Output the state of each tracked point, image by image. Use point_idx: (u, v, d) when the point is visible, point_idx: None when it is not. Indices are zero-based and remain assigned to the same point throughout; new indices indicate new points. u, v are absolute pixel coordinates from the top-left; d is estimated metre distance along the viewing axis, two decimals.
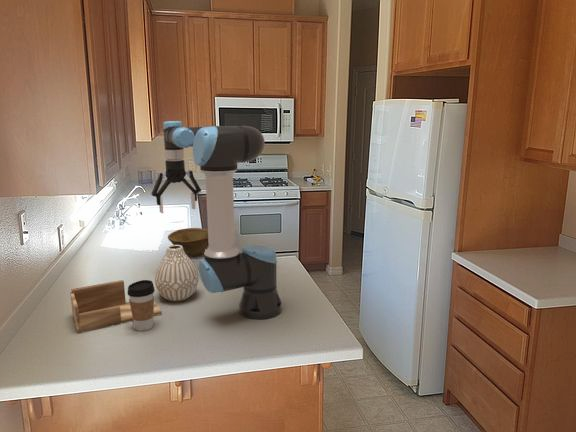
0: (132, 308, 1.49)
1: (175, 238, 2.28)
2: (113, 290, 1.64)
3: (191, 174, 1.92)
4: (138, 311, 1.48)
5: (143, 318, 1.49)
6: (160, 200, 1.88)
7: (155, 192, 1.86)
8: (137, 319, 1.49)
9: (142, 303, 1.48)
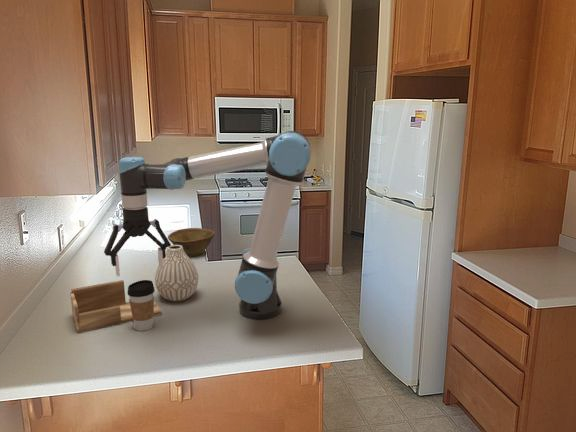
0: (132, 308, 1.49)
1: (175, 238, 2.28)
2: (113, 290, 1.64)
3: (157, 225, 1.48)
4: (138, 311, 1.48)
5: (143, 318, 1.49)
6: (115, 260, 1.44)
7: (108, 250, 1.42)
8: (137, 319, 1.49)
9: (142, 303, 1.48)
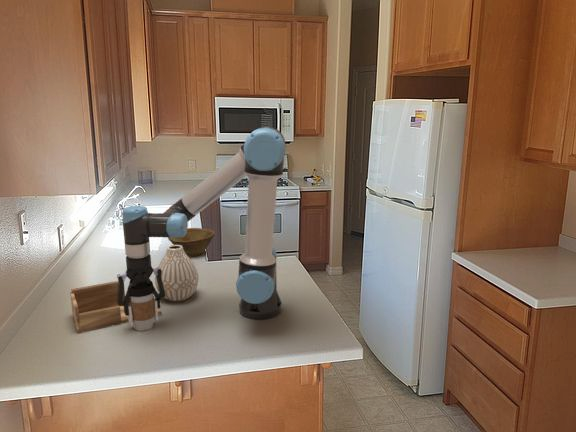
0: (132, 308, 1.49)
1: (175, 238, 2.28)
2: (113, 290, 1.64)
3: (159, 274, 1.51)
4: (138, 311, 1.48)
5: (143, 318, 1.49)
6: (128, 310, 1.49)
7: (121, 301, 1.46)
8: (137, 319, 1.49)
9: (142, 303, 1.48)
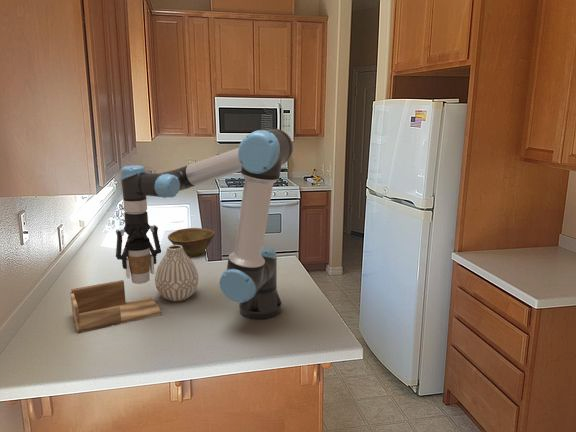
0: (129, 262, 1.59)
1: (175, 238, 2.28)
2: (113, 290, 1.64)
3: (155, 231, 1.61)
4: (135, 264, 1.58)
5: (140, 272, 1.59)
6: (126, 263, 1.58)
7: (119, 254, 1.56)
8: (134, 272, 1.59)
9: (139, 257, 1.57)
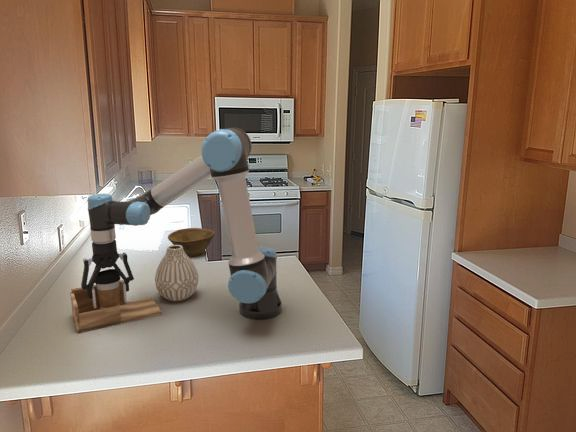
0: (98, 295, 1.55)
1: (175, 238, 2.28)
2: None
3: (125, 258, 1.57)
4: (103, 298, 1.55)
5: (109, 305, 1.56)
6: (92, 293, 1.54)
7: (84, 284, 1.52)
8: (103, 306, 1.56)
9: (107, 290, 1.54)
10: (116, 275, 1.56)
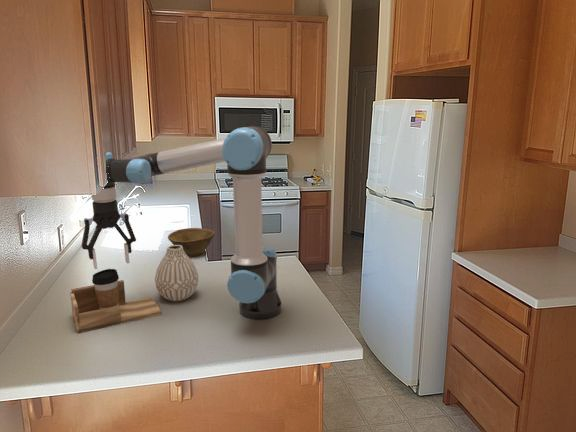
0: (97, 296, 1.55)
1: (175, 238, 2.28)
2: None
3: (126, 219, 1.55)
4: (102, 298, 1.55)
5: (108, 305, 1.56)
6: (92, 253, 1.52)
7: (85, 244, 1.50)
8: (102, 306, 1.56)
9: (106, 291, 1.54)
10: (114, 275, 1.55)
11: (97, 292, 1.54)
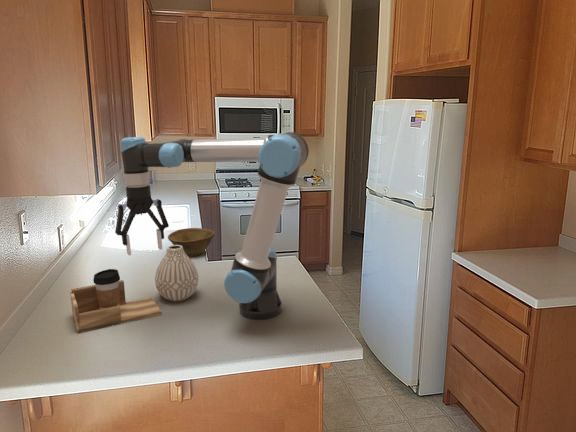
0: (98, 296, 1.55)
1: (175, 238, 2.28)
2: None
3: (159, 204, 1.54)
4: (103, 298, 1.55)
5: (109, 306, 1.56)
6: (126, 239, 1.51)
7: (119, 230, 1.49)
8: (103, 306, 1.56)
9: (107, 291, 1.54)
10: (115, 275, 1.56)
11: (98, 292, 1.55)
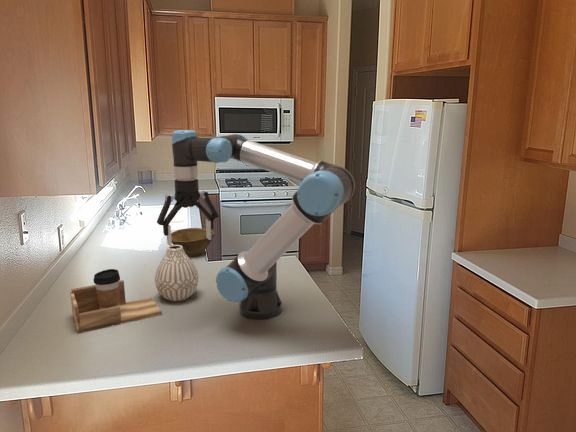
0: (98, 296, 1.55)
1: (175, 238, 2.28)
2: None
3: (206, 196, 1.54)
4: (103, 298, 1.55)
5: (109, 306, 1.56)
6: (168, 230, 1.50)
7: (162, 220, 1.48)
8: (103, 306, 1.56)
9: (107, 291, 1.54)
10: (116, 275, 1.56)
11: (98, 292, 1.55)
